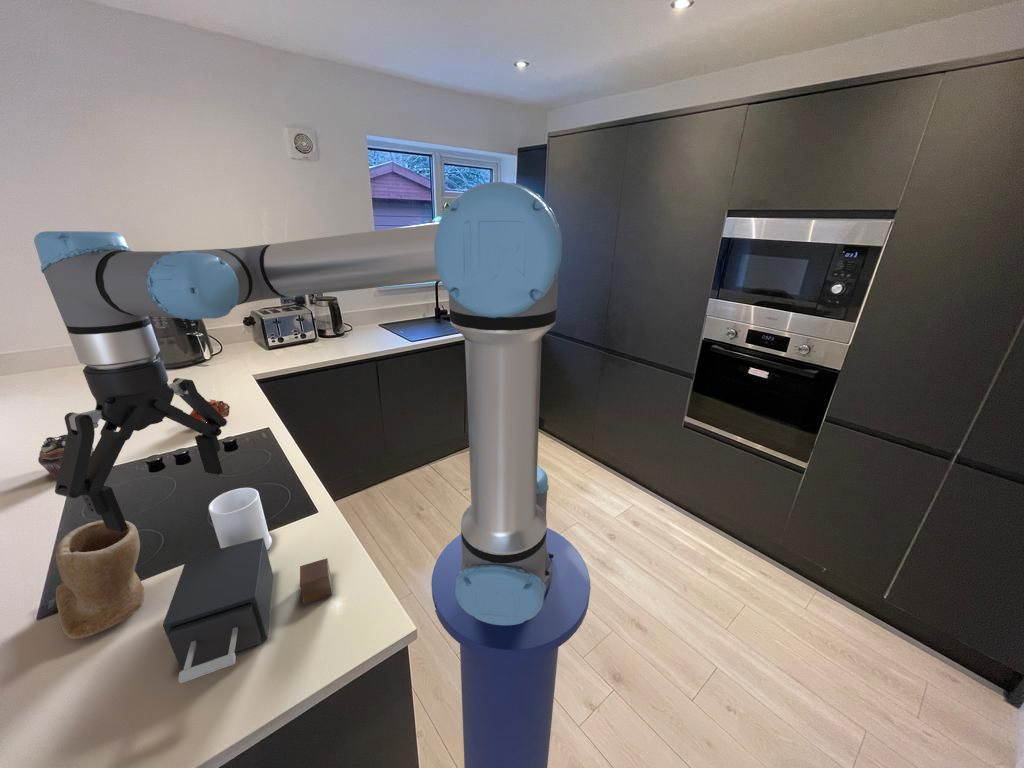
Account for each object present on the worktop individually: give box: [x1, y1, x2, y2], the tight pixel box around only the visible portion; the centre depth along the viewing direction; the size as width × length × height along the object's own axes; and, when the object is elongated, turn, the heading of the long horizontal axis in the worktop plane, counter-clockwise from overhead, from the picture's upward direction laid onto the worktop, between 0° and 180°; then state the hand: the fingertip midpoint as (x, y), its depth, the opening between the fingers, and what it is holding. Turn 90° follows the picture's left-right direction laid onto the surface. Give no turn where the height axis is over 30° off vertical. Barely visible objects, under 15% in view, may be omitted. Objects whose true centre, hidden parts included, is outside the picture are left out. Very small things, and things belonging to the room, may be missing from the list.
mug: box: [208, 487, 273, 551], centre depth 80 cm, size 12×8×12 cm
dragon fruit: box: [189, 398, 231, 423], centre depth 130 cm, size 8×8×12 cm
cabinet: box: [162, 538, 274, 670], centre depth 65 cm, size 14×11×9 cm
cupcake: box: [37, 434, 95, 480], centre depth 103 cm, size 10×10×10 cm
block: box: [299, 557, 333, 605], centre depth 71 cm, size 4×4×4 cm
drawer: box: [166, 603, 262, 684], centre depth 61 cm, size 18×10×7 cm, turn 26°
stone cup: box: [54, 519, 145, 640], centre depth 66 cm, size 15×12×15 cm
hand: (170, 497), depth 58 cm, fingers open, 13 cm apart
